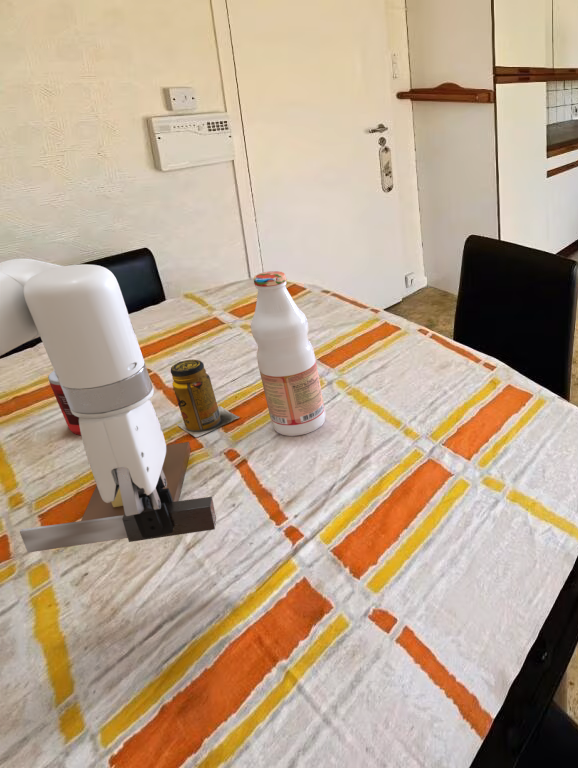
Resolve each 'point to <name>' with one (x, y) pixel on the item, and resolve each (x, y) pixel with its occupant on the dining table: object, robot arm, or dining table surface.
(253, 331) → the fruit juice
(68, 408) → the canned food
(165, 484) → the robot arm
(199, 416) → the condiment
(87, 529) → the knife
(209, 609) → the dining table surface
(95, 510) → the board
